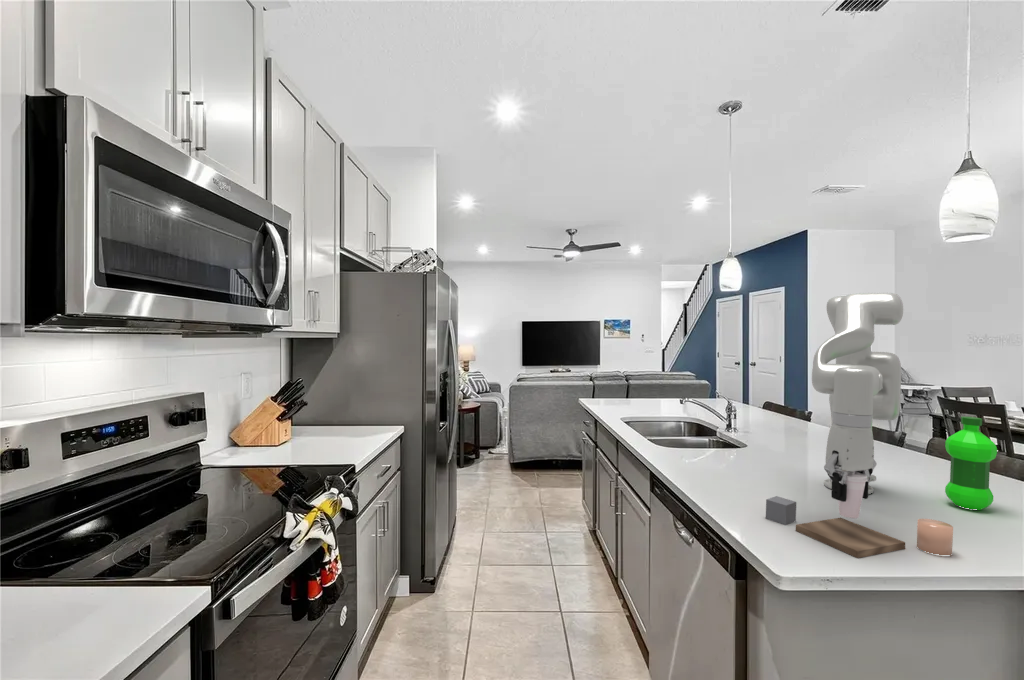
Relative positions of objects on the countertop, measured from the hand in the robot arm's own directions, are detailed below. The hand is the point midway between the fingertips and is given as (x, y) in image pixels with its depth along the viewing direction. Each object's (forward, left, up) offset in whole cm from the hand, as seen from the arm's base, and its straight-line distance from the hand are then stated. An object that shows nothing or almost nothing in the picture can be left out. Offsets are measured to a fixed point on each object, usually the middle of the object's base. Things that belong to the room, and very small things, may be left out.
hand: (849, 497), depth 114 cm
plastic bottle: (-54, -5, -10) cm, 55 cm away
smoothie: (0, 0, -4) cm, 4 cm away
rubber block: (+5, -14, -10) cm, 18 cm away
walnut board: (0, 0, -10) cm, 10 cm away
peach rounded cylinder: (-13, +10, -10) cm, 19 cm away
